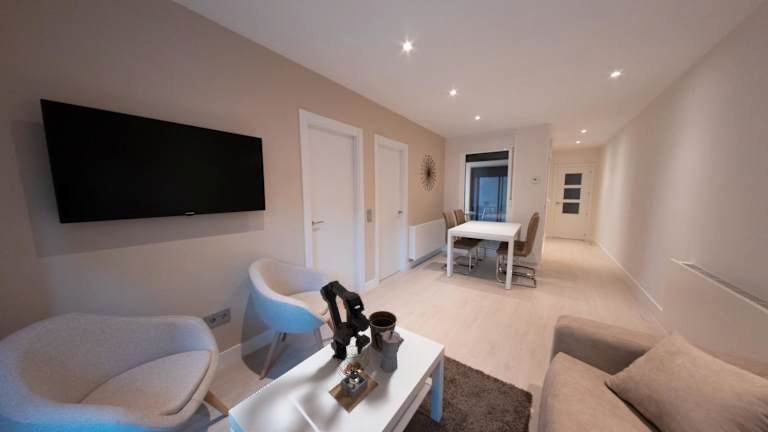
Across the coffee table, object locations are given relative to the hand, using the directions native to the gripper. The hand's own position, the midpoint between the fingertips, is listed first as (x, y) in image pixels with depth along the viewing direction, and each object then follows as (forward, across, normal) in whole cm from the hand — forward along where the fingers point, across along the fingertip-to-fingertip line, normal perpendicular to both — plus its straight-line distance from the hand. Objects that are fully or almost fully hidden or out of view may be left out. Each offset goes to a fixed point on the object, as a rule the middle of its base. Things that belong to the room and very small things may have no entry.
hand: (352, 349), depth 112 cm
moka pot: (+12, +11, +14) cm, 22 cm away
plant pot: (+12, -2, +24) cm, 27 cm away
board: (+12, +8, -6) cm, 16 cm away
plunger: (+11, +8, -6) cm, 15 cm away
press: (+11, +8, -6) cm, 15 cm away
